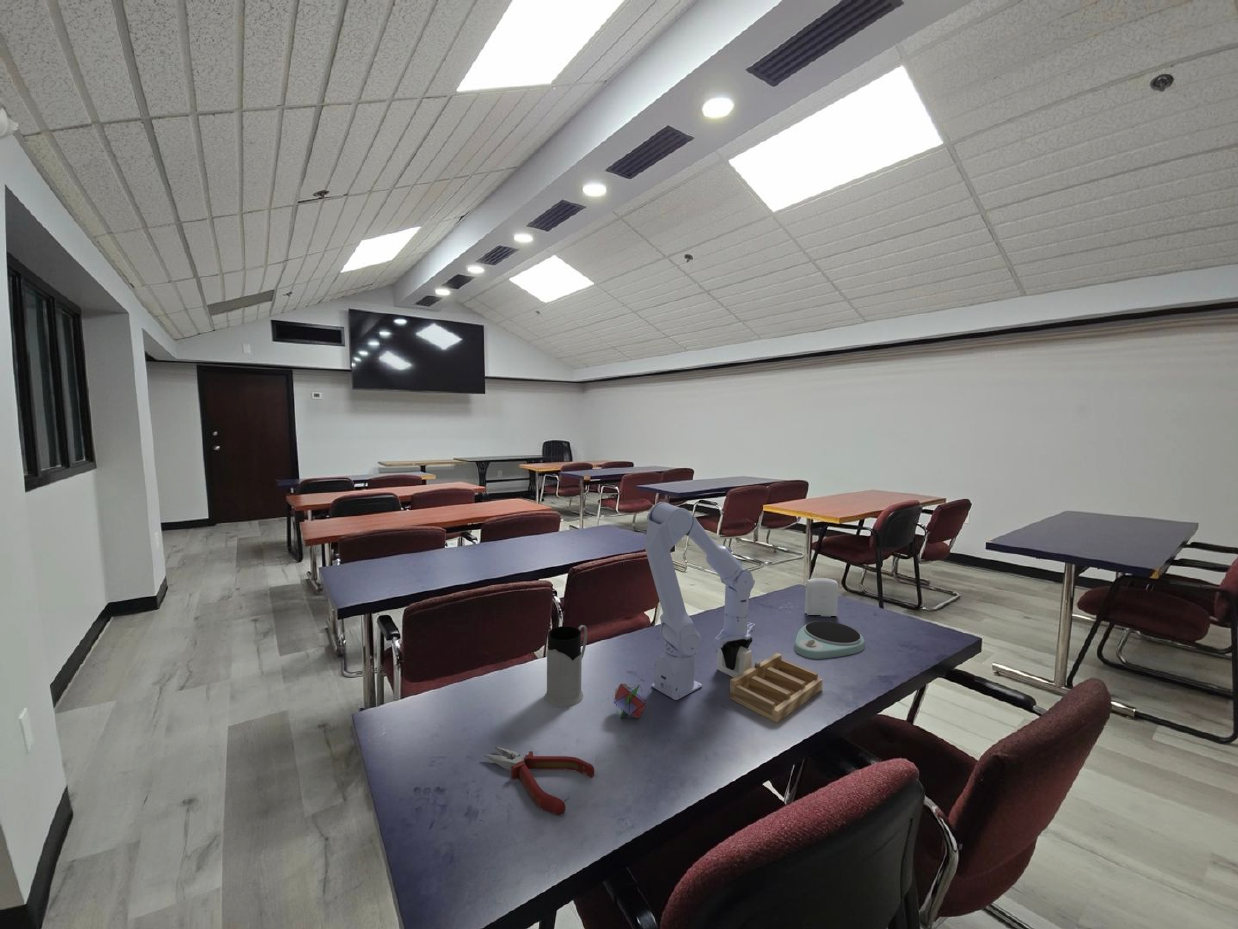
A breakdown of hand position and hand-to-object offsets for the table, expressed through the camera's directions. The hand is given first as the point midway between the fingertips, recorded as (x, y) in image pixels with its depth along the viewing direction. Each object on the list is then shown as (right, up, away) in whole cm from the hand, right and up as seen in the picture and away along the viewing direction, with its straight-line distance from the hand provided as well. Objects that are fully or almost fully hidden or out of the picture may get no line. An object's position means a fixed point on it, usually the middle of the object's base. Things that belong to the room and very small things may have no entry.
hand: (734, 666), depth 123 cm
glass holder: (-40, -2, -9) cm, 41 cm away
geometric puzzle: (-27, -3, -18) cm, 32 cm away
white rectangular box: (0, -2, 0) cm, 2 cm away
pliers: (-43, -5, -35) cm, 55 cm away
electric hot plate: (+31, -1, +18) cm, 36 cm away
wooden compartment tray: (+8, -3, -9) cm, 12 cm away
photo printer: (+38, +1, +39) cm, 54 cm away
